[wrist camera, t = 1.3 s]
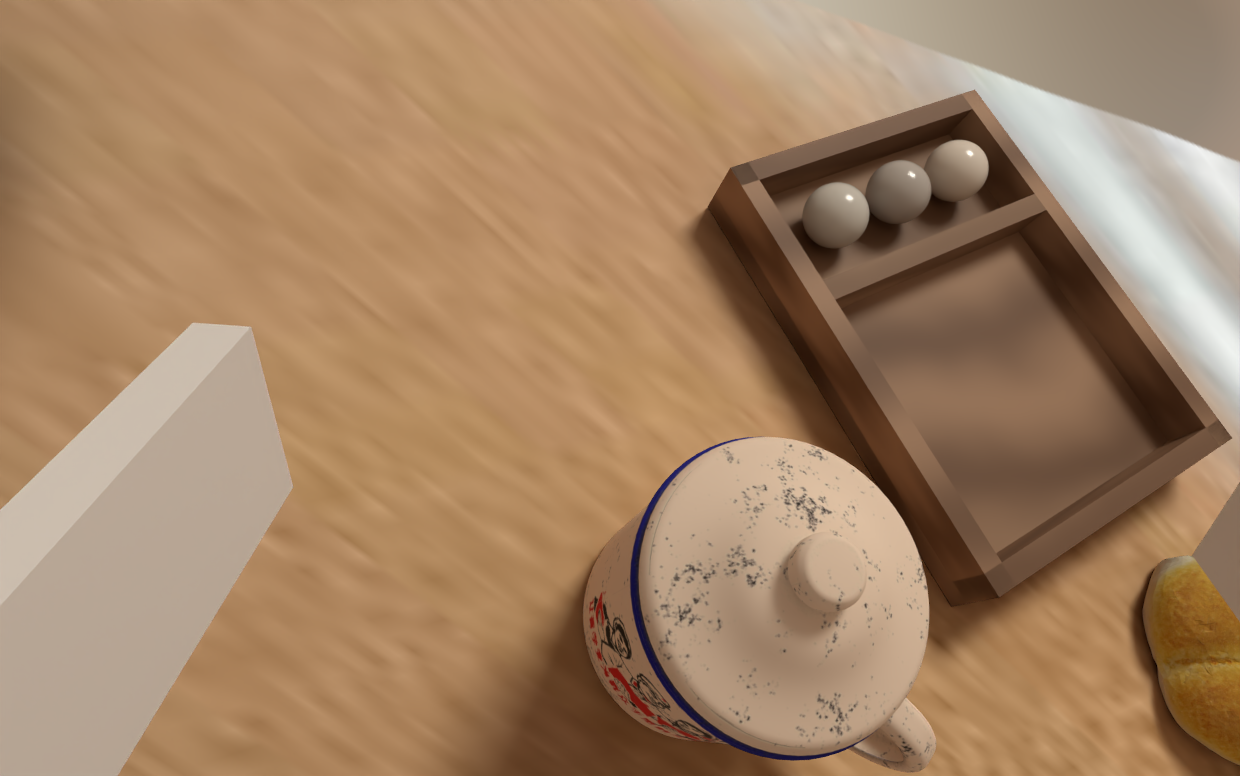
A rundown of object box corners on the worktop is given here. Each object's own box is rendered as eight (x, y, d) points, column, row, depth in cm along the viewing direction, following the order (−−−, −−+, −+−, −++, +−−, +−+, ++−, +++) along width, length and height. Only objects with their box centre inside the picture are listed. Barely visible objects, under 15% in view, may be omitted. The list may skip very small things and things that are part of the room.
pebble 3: (900, 173, 40) (935, 135, 38) (941, 158, 42) (978, 120, 39) (933, 220, 40) (971, 184, 37) (974, 204, 41) (1013, 168, 38)
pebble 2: (842, 194, 39) (874, 156, 36) (886, 178, 40) (920, 140, 37) (875, 243, 38) (910, 208, 36) (919, 226, 39) (956, 190, 37)
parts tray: (707, 206, 38) (730, 167, 35) (940, 127, 44) (974, 89, 41) (951, 606, 33) (999, 597, 30) (1175, 456, 39) (1232, 438, 36)
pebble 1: (779, 217, 37) (808, 178, 35) (827, 199, 39) (858, 161, 36) (812, 268, 37) (844, 233, 34) (860, 249, 38) (894, 214, 35)
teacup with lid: (523, 628, 29) (587, 580, 18) (672, 457, 33) (795, 337, 22) (772, 862, 28) (990, 954, 17) (895, 658, 32) (1133, 631, 21)
